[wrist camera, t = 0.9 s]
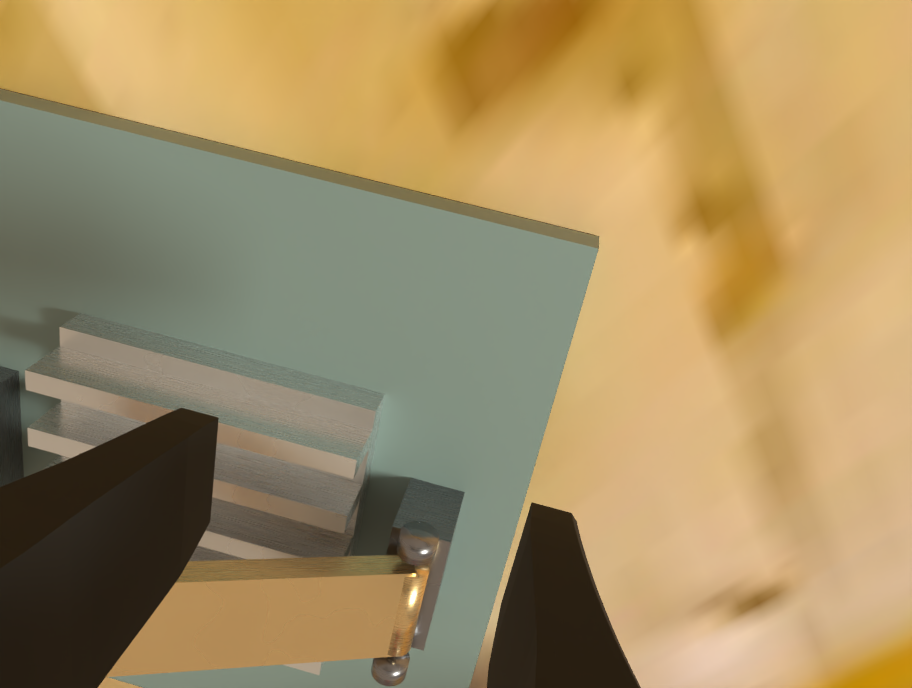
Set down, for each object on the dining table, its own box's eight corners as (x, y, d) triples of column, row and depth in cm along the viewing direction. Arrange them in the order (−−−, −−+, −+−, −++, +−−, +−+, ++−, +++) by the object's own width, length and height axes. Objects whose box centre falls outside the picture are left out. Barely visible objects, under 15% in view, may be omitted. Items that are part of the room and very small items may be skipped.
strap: (407, 632, 23) (413, 658, 22) (-134, 666, 19) (-149, 699, 18) (426, 551, 22) (433, 575, 21) (-151, 568, 18) (-168, 599, 17)
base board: (447, 751, 30) (442, 776, 29) (-13, 616, 31) (-32, 635, 30) (598, 236, 21) (598, 248, 20) (-56, 74, 22) (-84, 79, 21)
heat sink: (424, 652, 26) (399, 741, 23) (-7, 528, 27) (-84, 599, 24) (482, 419, 22) (463, 490, 19) (-24, 285, 23) (-119, 332, 20)
